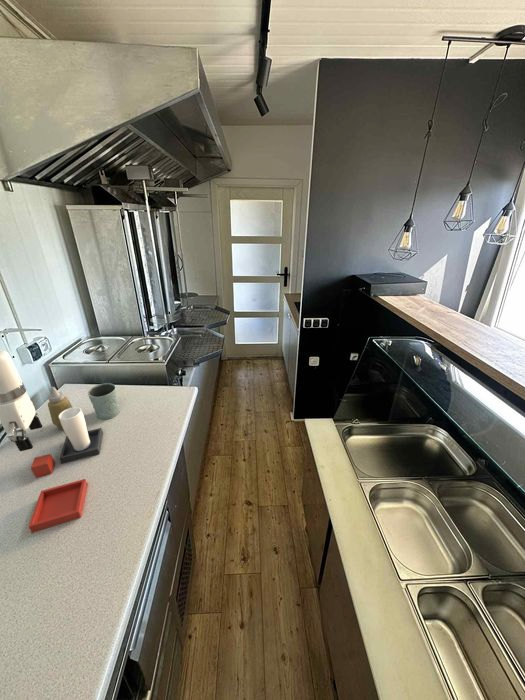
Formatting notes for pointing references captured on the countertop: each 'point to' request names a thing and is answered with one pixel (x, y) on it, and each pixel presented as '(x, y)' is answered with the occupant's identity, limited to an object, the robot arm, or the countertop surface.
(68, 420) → the drinking glass
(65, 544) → the countertop surface
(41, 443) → the countertop surface
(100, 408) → the green pot
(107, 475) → the countertop surface
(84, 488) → the red tray
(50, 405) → the squeeze bottle
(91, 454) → the graphite tray
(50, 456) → the red block
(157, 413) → the countertop surface
